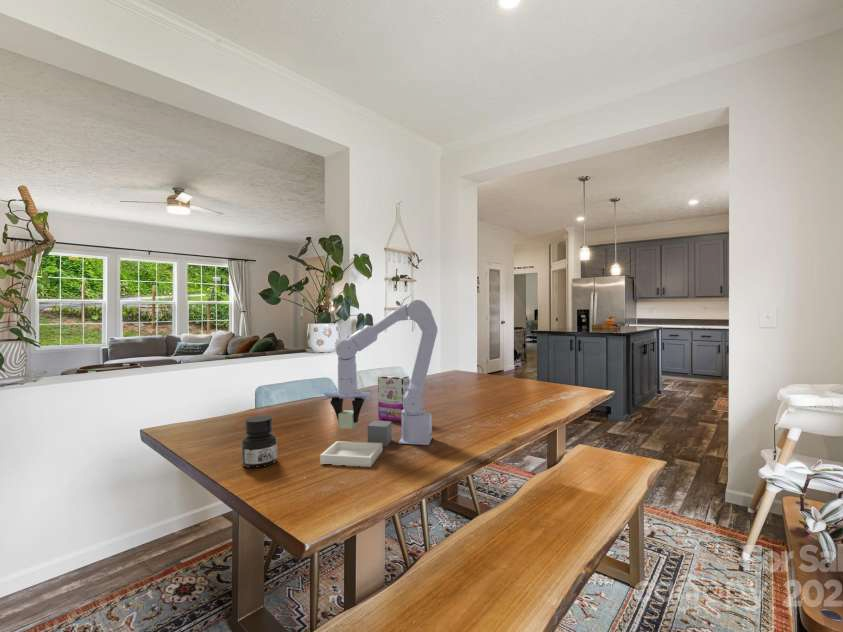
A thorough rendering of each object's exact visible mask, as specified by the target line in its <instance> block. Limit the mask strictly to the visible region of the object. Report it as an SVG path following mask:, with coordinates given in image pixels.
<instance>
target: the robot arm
mask: <svg viewBox="0 0 843 632" xmlns="http://www.w3.org/2000/svg"><path fill="white" fill-rule="evenodd" d="M409 318H410V319H411V320H412V321H413V322H415V323H416V324H417V326H418V327H419V328H420V330H421V337H420V339H419V344H418V349H417V352H416V357H415V360H414V364H413V368H412V373H411V377H410V379H409V387H408V389H407V391H406V392H405V393H404V395H403V408H404V409H403V410H402V422H401V438H400V439H399V440H398V442H397V443H398V444H401V445H402V444H403V445H420V446H421V445H422V446H428V445H429V446H430V443H431V442H432V438H433V422H432V421H433V418H432V417H433V416H432V413H430V412H426V411H425V409H424V400H423V396H424V388H425V384H426V379H427V375H428V373H429V372H428V371H429V367H430V363H431V359H432V354H433V351H434V347H435V342H436V338H437V334H438V326H437V323H436V321H435V318H434V315H433V313H432V309H431V308H430V307H429V306H428V305H427V303H426V302H424V301H423V300H421V299H416V300H412V301H411V302H409V304H408V303H407V304H404V305H403V306H400V307H398V308H396V309H395V310H393V311H391V312H390V313H389V314H388V315H386V316H385V317H384V318H382V319H380V320H379V321H378V322H376V323H375V324H374V325H368V324H366V325H361V326H359V328H358V329H359V330H357V331H355V332H353V334H348V335H347V336H346V339H343V340H341V341H339V342H338V344H337V345H336V349H335V352H336V355H337V390H334V391H331V390H330V391H329V390H328V391H325V392H324V393H323V394H324V395H323V397H324V399H325V400H326V399H331V400H330V405H331V406H332V409H334V412H335V415H336V419H337V423H339V420H338V414H339V413H340V412H342V411H343V403H344V400H345V399H346V400H352V401H351V404H352V410H353V412H354V417H353V419H354V423H357V424H358V422H359V416H360V413H361V410H362V407H363V405H364V402H365V400H367V401H368V400H371V398H372V393H371V392H370V391H361V390H359V391H358V389H357V387H358V386H357V382H358V381H357V363H356V362H357V361H356V358H357V357H356V354H357V353H358V352H361V351H363V350H364V349H366V348H367V347H369V346H370V345H372V344H373V343H374V342H376V341H377V340H378V335H379V334H381V333H382V332H384V331H386V330H387V329H388V328H390V327H392V326H393V325H395V324H396V323H398V322H400V321H409Z"/></svg>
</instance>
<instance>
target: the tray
mask: <svg viewBox="0 0 843 632" xmlns="http://www.w3.org/2000/svg"><path fill="white" fill-rule="evenodd" d="M383 447H384V446H383V443H370V442H368V441H367V442H366V441H347V440H346V441H345V440H342V441H341V440H336V441H334V443H332V444H331V445H330V446H329V447H328V448H327V449H326V450H324V451H323V452H322V453H321V454H320V455H319V462H320V463H319V465H323V464H332V465H331V466H341V465H346V466H345V467H359V466H360V467H363V468H371V467H372V466H373V465H374V464H375V462H376V461H377V460H378V458H379V457H380V456H381V455H382V453H383V452H384V451H383V450H384V449H383Z"/></svg>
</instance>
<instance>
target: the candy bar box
mask: <svg viewBox="0 0 843 632" xmlns="http://www.w3.org/2000/svg"><path fill="white" fill-rule="evenodd" d="M409 383H410V377H409V376H407V375H392V374H383V375H379V376H377V394H378V395H377V396H378V398H377V400H378V402H377V403H378V405H377V406H378V409H377V411H378V412H377V413H378V414H377V415H378V420H380V421H391V422H396V423H402V410H403V409H404V408H403V395H404V393H405V392H406V391H407V389H408V387H409Z"/></svg>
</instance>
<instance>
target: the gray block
mask: <svg viewBox="0 0 843 632" xmlns="http://www.w3.org/2000/svg"><path fill="white" fill-rule="evenodd" d="M392 422H393V421H388V420H373V421H371V422H370V423H369V424H368V425H367V442H370V443H383V447H388V446H389V444H390V443H391V442H392V437H393V436H392V434H393V433H392V427H393V426H392ZM390 441H391V442H390Z"/></svg>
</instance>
